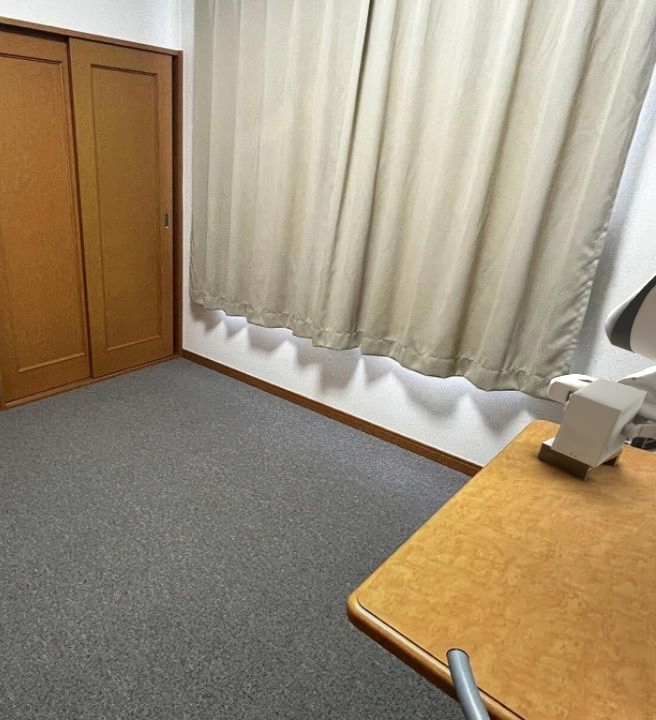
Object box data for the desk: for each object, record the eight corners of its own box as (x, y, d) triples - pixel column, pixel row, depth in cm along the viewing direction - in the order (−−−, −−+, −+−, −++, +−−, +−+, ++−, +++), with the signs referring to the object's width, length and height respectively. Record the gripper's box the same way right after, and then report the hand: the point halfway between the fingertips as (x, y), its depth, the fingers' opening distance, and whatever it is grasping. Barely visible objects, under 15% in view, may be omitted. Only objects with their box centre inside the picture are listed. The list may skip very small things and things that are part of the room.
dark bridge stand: (616, 466, 90) (623, 448, 89) (582, 482, 86) (589, 464, 85) (569, 445, 97) (575, 428, 96) (536, 459, 93) (542, 442, 91)
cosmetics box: (598, 469, 72) (622, 409, 68) (549, 449, 77) (569, 392, 73) (625, 447, 77) (649, 390, 73) (578, 430, 82) (598, 375, 78)
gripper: (579, 361, 87) (532, 376, 82) (735, 410, 70) (690, 433, 65) (568, 391, 90) (523, 408, 84) (717, 446, 73) (672, 471, 67)
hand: (596, 420), depth 75 cm, fingers closed on cosmetics box, 6 cm apart
